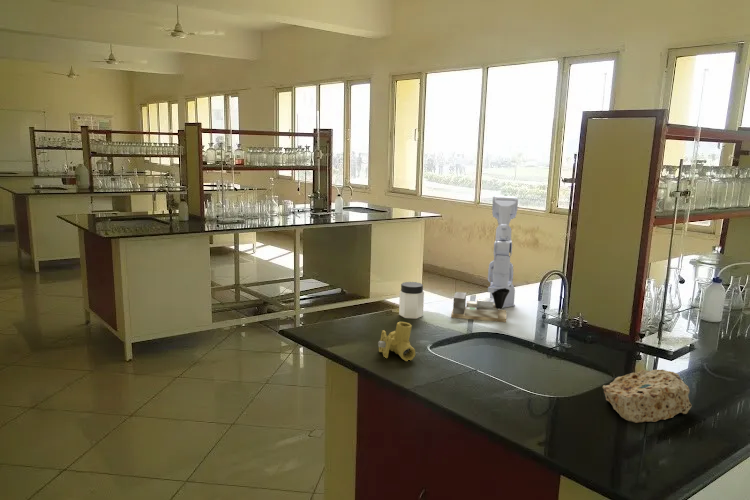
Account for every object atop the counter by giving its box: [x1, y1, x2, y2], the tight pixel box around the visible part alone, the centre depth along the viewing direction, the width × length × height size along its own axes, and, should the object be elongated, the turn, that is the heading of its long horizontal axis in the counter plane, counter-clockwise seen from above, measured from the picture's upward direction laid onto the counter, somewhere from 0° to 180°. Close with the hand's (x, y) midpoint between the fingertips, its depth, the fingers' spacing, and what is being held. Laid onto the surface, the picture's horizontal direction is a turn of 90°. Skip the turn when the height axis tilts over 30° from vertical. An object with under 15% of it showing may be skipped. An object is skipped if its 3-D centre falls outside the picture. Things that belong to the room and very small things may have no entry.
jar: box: [398, 281, 425, 320], centre depth 209 cm, size 9×8×12 cm
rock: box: [602, 369, 692, 424], centre depth 138 cm, size 21×14×10 cm
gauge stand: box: [450, 291, 507, 323], centre depth 211 cm, size 20×12×7 cm, turn 77°
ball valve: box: [377, 321, 416, 362], centre depth 169 cm, size 13×10×10 cm
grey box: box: [476, 296, 494, 309], centre depth 209 cm, size 6×8×5 cm
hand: (498, 308), depth 210 cm, fingers closed
